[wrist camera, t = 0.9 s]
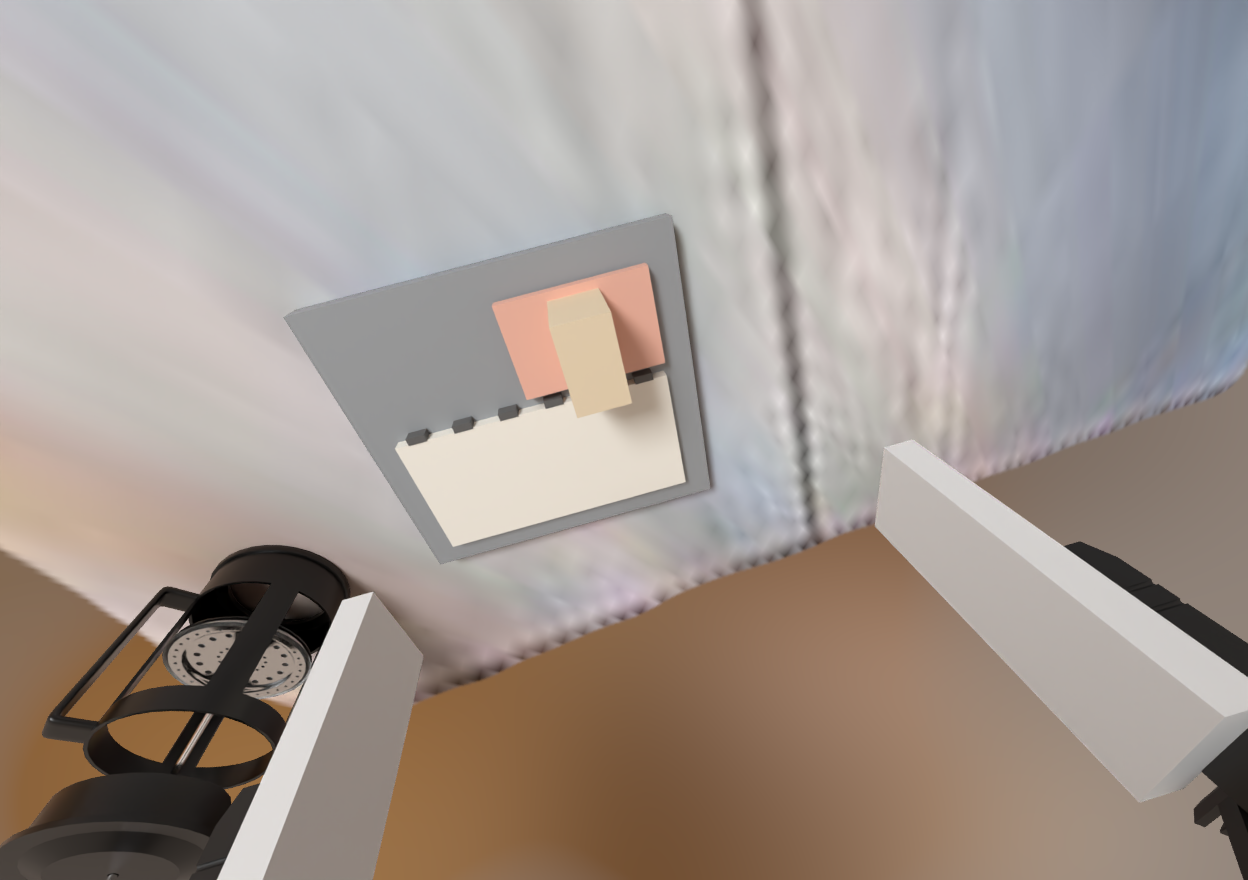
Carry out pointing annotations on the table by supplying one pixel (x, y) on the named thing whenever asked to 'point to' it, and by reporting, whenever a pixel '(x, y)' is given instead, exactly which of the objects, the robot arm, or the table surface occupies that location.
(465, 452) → the board
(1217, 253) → the table surface
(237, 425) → the table surface
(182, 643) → the french press
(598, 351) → the stub
